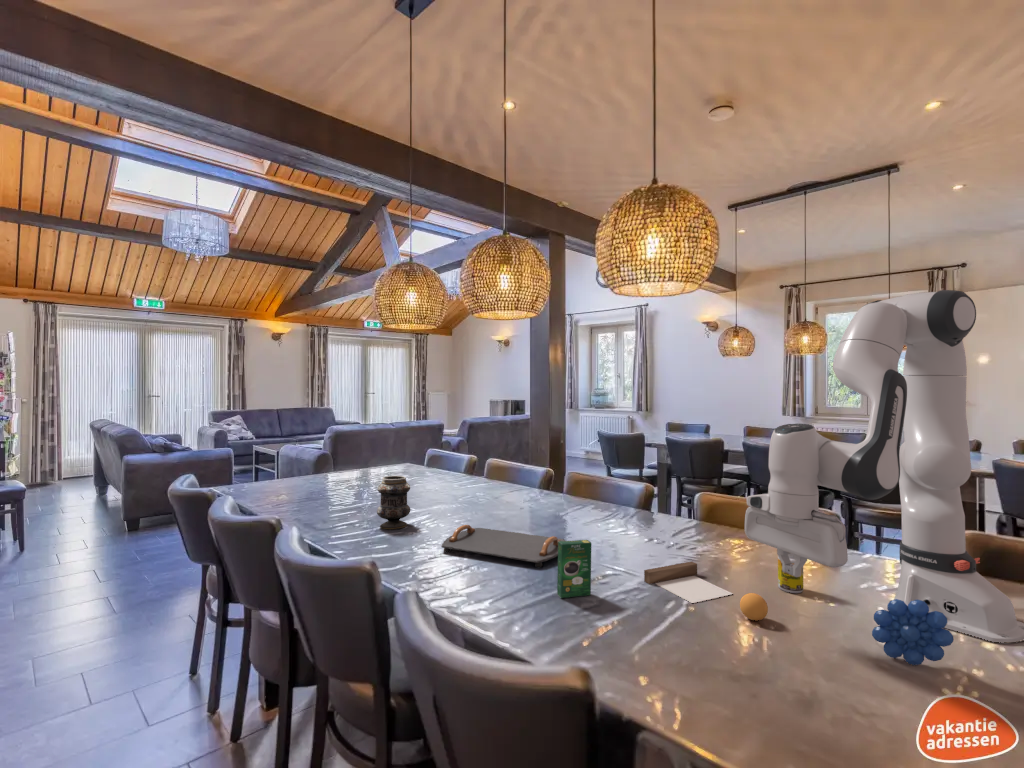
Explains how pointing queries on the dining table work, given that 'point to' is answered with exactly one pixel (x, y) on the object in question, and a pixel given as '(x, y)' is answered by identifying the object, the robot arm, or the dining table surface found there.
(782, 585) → the supplement bottle
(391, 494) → the apothecary jar
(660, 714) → the dining table surface
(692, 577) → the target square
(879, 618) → the blue bumpy cluster
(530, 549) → the serving board
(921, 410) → the robot arm
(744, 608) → the ball
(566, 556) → the coffee box
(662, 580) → the stop rail
